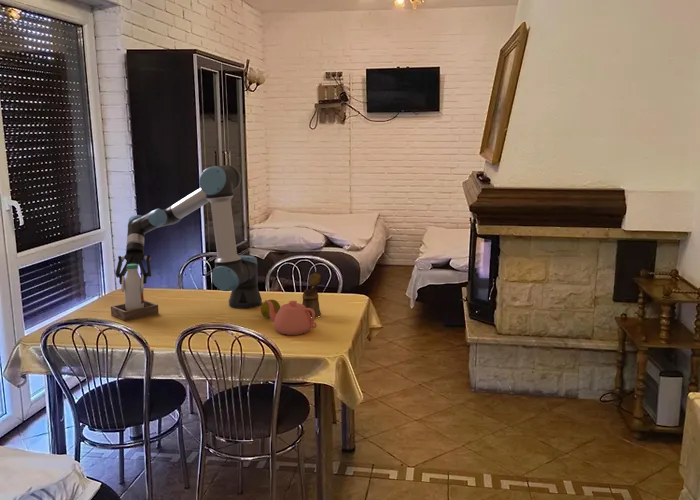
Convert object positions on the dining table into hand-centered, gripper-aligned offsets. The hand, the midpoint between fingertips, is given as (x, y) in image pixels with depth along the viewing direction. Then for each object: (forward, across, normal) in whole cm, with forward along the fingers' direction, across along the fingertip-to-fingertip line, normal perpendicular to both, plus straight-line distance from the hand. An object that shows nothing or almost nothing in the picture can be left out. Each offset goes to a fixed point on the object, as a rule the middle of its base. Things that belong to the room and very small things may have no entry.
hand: (132, 289), depth 273 cm
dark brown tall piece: (+16, -76, -2) cm, 78 cm away
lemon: (+17, -58, 0) cm, 61 cm away
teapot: (+31, -65, +14) cm, 73 cm away
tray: (+6, 0, -11) cm, 12 cm away
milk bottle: (+4, 0, -9) cm, 10 cm away
